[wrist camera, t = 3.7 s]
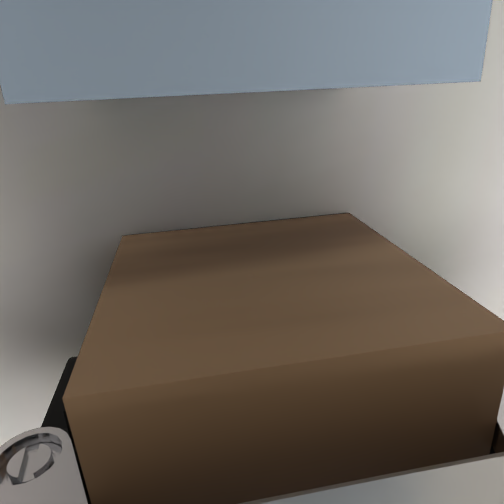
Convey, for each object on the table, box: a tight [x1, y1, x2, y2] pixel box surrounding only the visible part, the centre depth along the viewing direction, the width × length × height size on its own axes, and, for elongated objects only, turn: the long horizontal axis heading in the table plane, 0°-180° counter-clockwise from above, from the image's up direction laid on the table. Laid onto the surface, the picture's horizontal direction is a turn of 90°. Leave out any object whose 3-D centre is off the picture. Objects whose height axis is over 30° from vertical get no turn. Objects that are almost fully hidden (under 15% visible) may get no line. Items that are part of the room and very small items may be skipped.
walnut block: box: [62, 213, 504, 504], centre depth 9 cm, size 6×6×6 cm
